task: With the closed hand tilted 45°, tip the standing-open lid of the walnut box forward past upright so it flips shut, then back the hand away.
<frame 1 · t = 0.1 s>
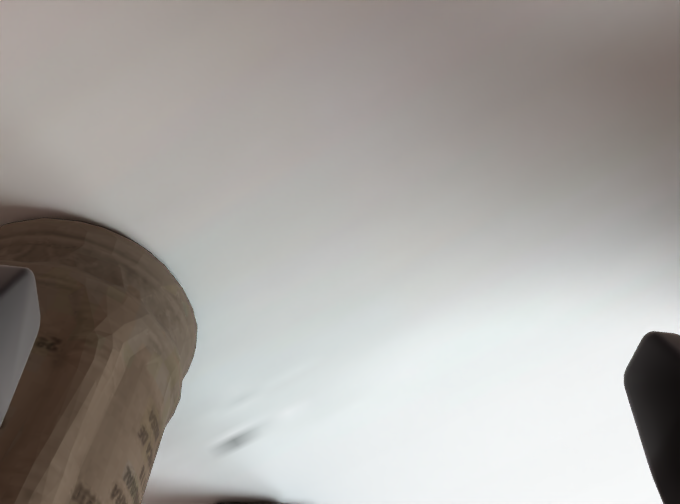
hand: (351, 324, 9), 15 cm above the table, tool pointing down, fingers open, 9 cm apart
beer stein: (28, 322, 27), on the table
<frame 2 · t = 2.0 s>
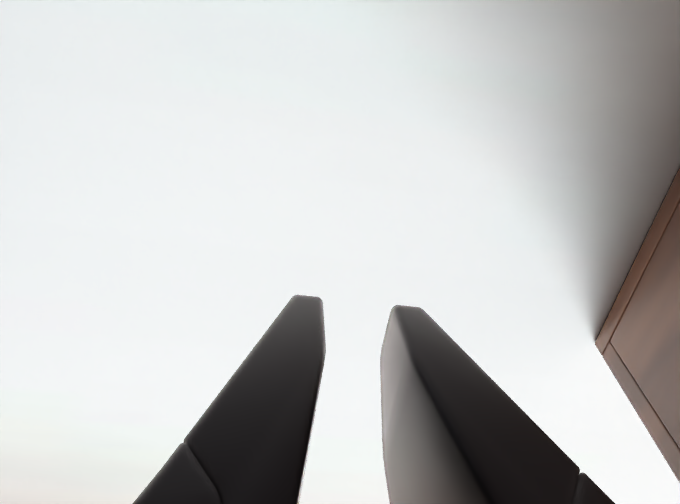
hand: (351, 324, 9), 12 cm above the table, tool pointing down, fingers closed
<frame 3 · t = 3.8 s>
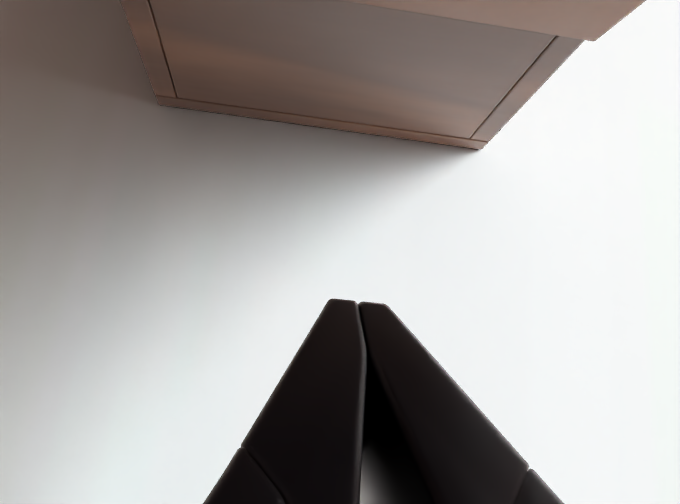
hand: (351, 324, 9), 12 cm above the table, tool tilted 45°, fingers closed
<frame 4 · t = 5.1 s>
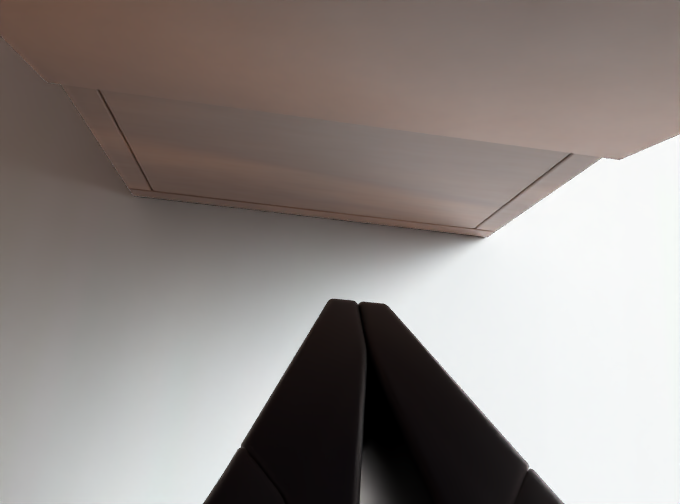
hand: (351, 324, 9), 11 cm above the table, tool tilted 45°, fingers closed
walnut box: (331, 59, 22), on the table
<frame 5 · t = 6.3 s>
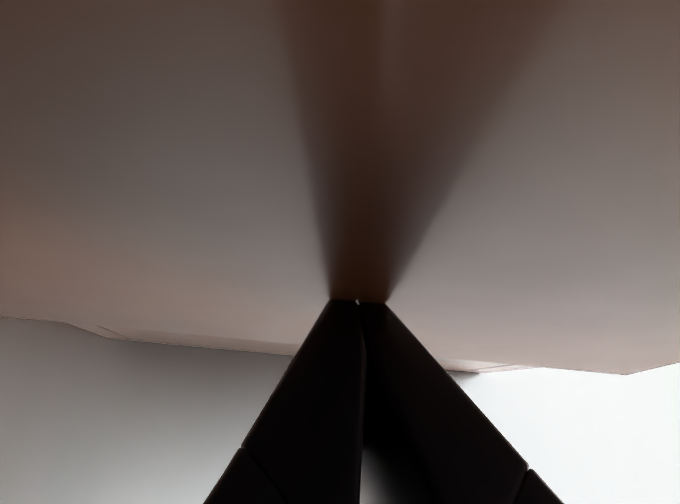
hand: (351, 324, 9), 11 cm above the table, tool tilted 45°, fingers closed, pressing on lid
walnut box: (319, 180, 21), on the table
lid: (416, 178, 5), point 15 cm above the table, hinge at 83.8°, touching gripper
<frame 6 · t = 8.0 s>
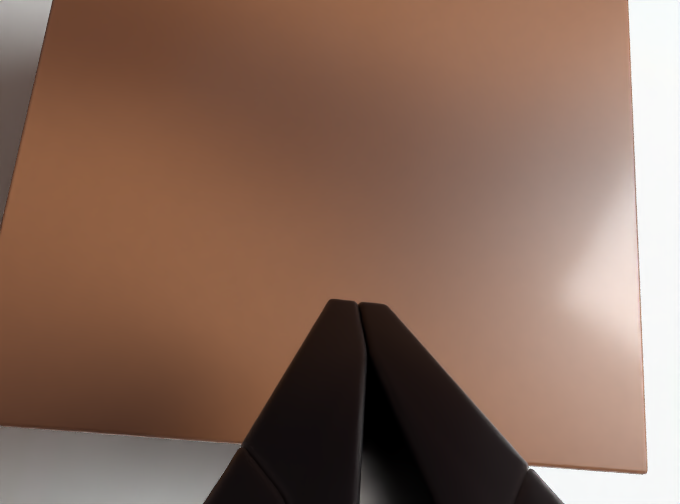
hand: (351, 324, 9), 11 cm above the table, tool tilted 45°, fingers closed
lid: (349, 119, 13), point 8 cm above the table, hinge at -0.2°
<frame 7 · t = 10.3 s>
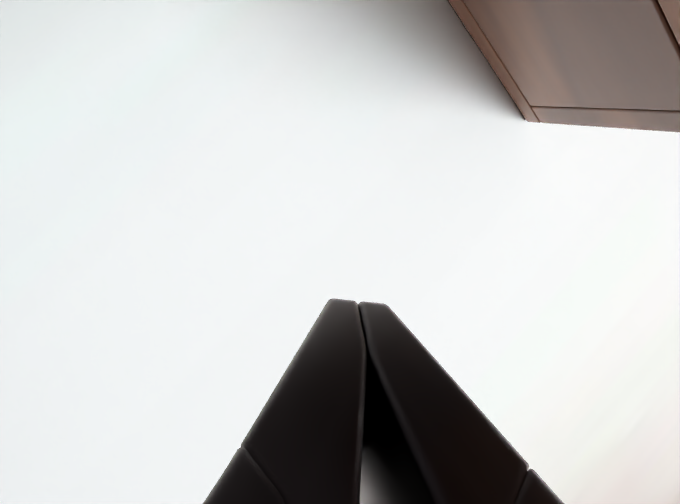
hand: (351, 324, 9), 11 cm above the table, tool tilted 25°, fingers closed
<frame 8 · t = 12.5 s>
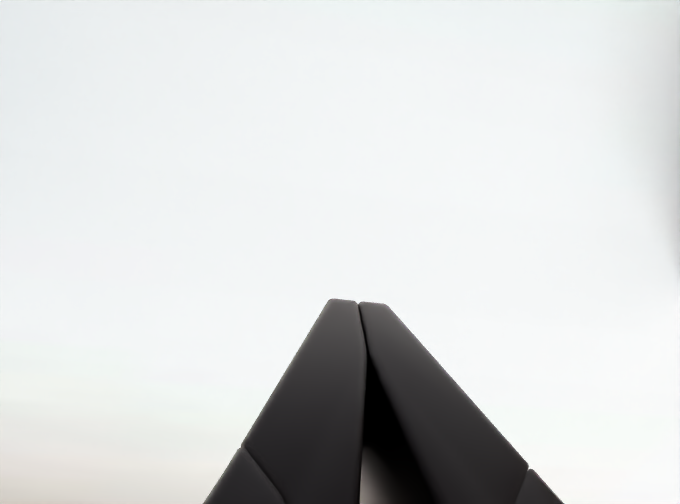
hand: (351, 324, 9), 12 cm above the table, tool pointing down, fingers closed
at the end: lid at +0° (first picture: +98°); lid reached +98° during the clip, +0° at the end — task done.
